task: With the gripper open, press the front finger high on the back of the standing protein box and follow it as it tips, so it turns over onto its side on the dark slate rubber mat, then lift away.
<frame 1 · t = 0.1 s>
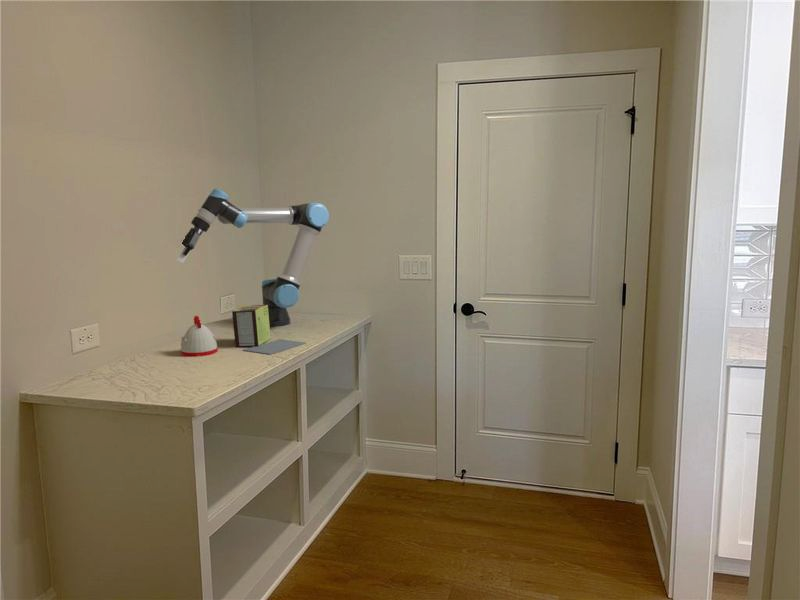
hand: (176, 260, 236), 36 cm above the table, tool tilted 35°, fingers open, 13 cm apart
kitchen timer: (199, 353, 219), on the table
slate rubber mat: (275, 346, 226), on the table
protein box: (253, 343, 234), on the table, touching slate rubber mat
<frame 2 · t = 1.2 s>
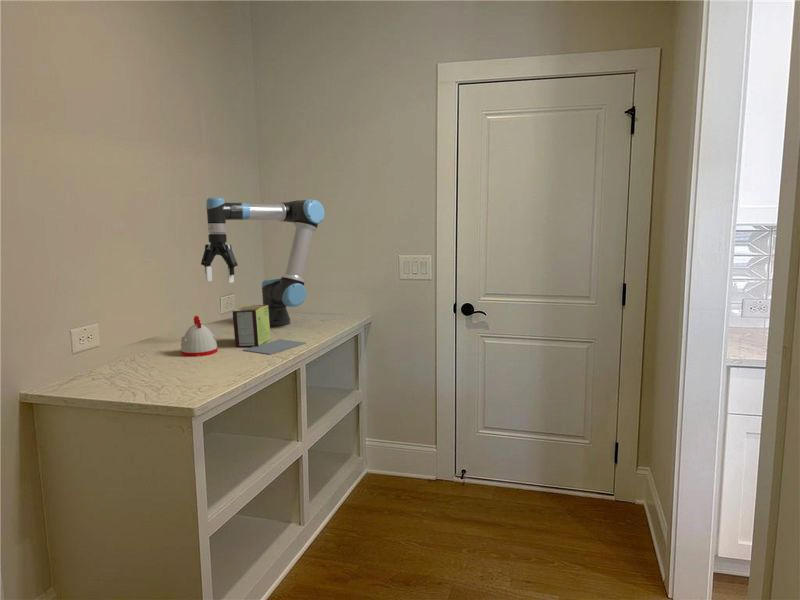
hand: (220, 281, 239), 26 cm above the table, tool pointing down, fingers open, 13 cm apart
nothing on the table moved.
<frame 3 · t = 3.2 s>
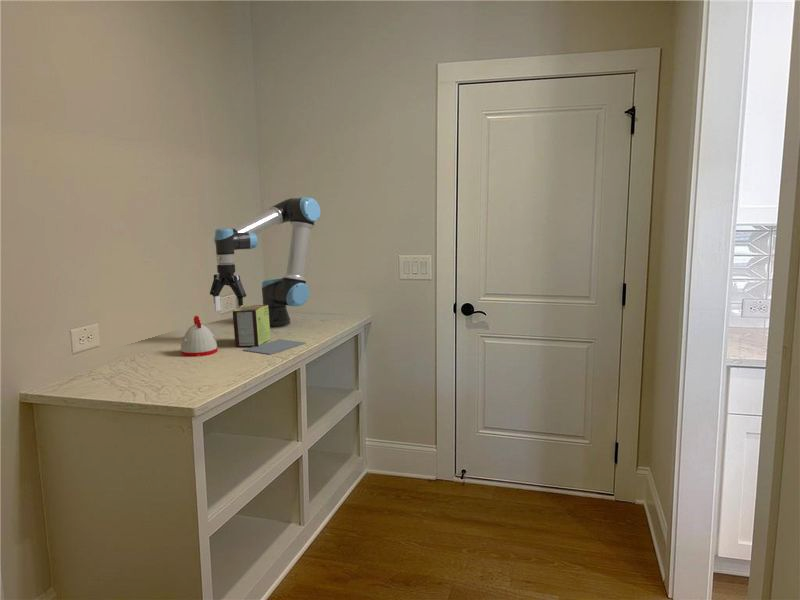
hand: (228, 311, 239), 13 cm above the table, tool pointing down, fingers open, 13 cm apart
protein box: (253, 343, 234), on the table, touching gripper, slate rubber mat
everything else where it was.
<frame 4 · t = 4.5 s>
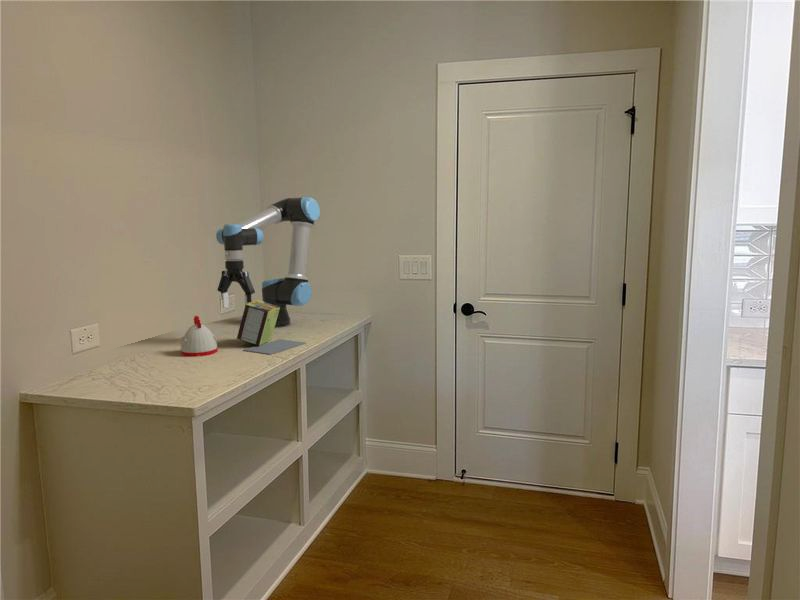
hand: (236, 308, 236), 15 cm above the table, tool pointing down, fingers open, 13 cm apart
protein box: (254, 339, 233), point 2 cm above the table, touching gripper, slate rubber mat
everything else where it was.
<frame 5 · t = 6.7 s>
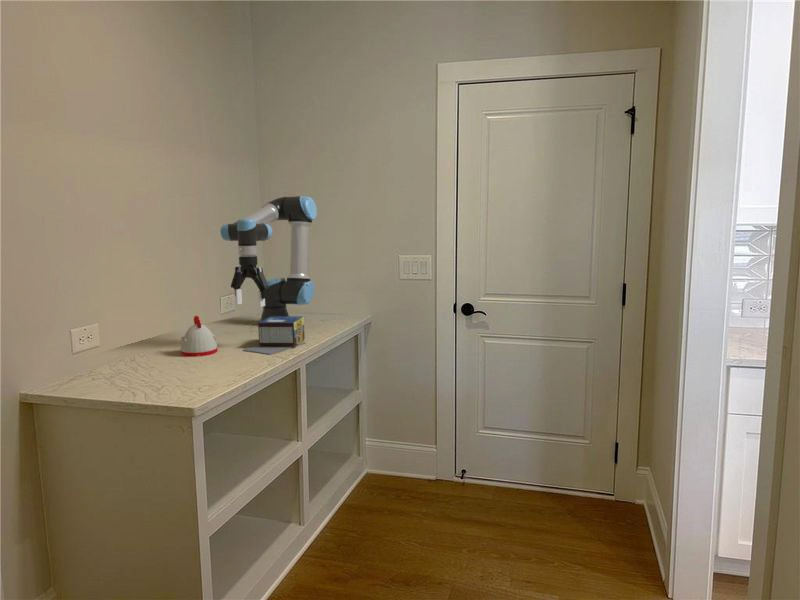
hand: (250, 305, 231), 17 cm above the table, tool pointing down, fingers open, 13 cm apart
protein box: (264, 330, 232), point 6 cm above the table, touching slate rubber mat
everything else where it was.
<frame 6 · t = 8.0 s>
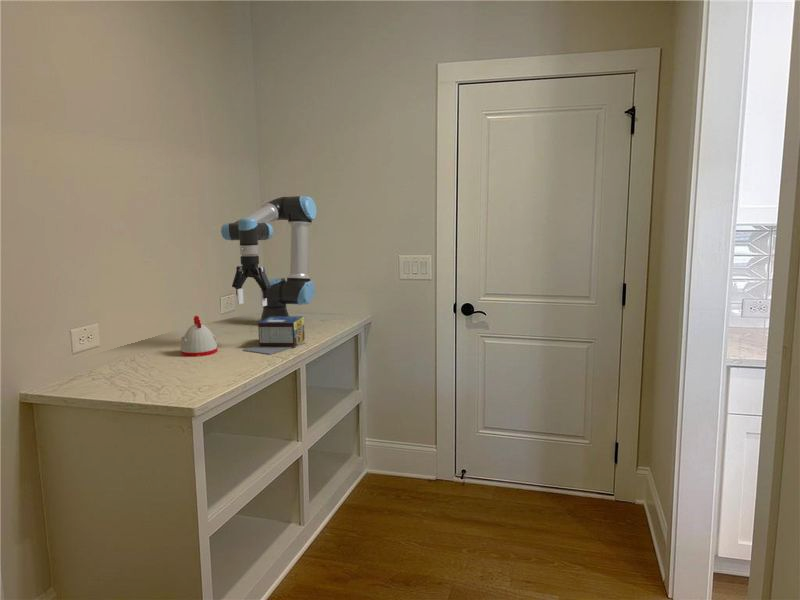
hand: (252, 304, 231), 17 cm above the table, tool pointing down, fingers open, 13 cm apart
nothing on the table moved.
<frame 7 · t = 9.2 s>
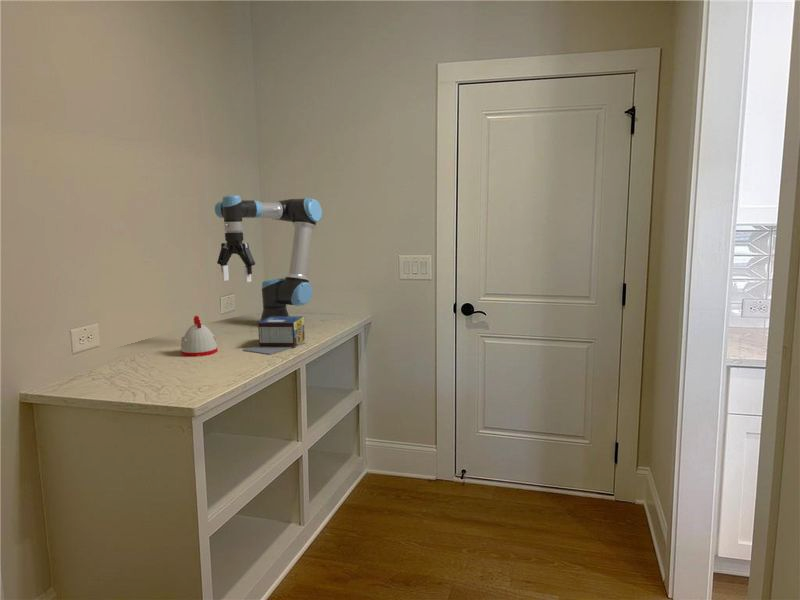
hand: (237, 281, 234), 27 cm above the table, tool pointing down, fingers open, 13 cm apart
nothing on the table moved.
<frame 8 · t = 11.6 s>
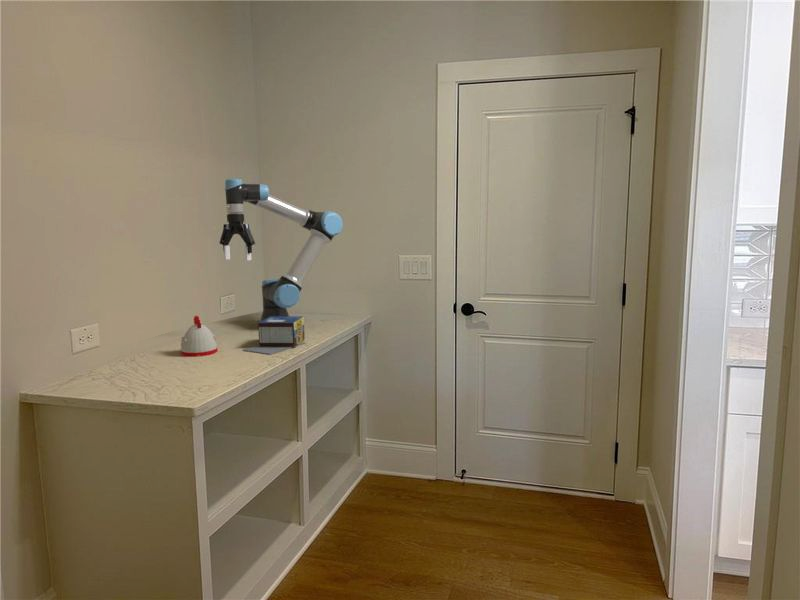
hand: (238, 259, 250), 35 cm above the table, tool pointing down, fingers open, 13 cm apart
nothing on the table moved.
at the end: protein box tilted 90°; protein box touching slate rubber mat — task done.
